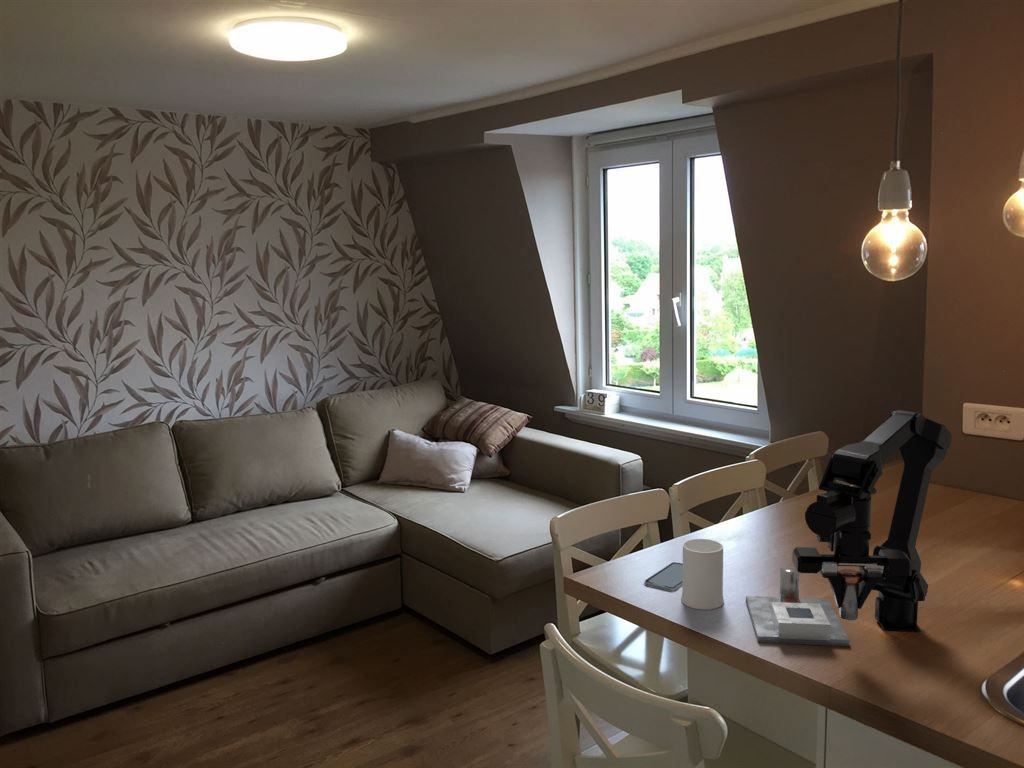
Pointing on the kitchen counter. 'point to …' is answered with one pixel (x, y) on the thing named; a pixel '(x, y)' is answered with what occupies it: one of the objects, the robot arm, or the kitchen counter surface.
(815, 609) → the socket base
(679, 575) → the smartphone
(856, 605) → the copper-capped peg
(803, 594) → the kitchen counter surface
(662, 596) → the kitchen counter surface
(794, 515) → the kitchen counter surface
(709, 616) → the kitchen counter surface
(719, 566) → the mug
